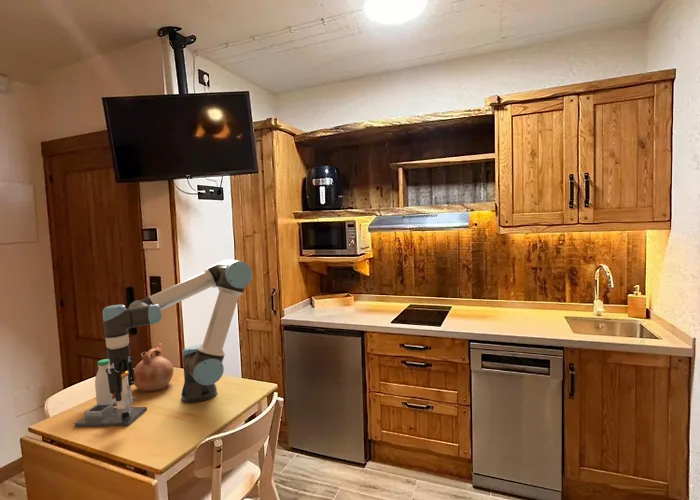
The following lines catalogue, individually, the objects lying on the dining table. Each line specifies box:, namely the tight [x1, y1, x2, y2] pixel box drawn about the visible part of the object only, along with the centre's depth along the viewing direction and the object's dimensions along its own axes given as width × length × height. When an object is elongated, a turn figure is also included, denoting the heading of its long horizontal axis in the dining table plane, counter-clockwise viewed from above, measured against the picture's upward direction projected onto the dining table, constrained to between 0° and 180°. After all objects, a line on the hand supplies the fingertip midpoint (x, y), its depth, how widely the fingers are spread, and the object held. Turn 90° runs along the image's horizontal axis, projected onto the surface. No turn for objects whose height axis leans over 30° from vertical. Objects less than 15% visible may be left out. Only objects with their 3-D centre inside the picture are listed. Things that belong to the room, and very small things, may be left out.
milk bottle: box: [94, 358, 116, 404], centre depth 173 cm, size 8×8×20 cm
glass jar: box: [117, 370, 132, 413], centre depth 149 cm, size 5×5×15 cm
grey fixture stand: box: [73, 396, 148, 428], centre depth 159 cm, size 22×13×14 cm, turn 87°
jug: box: [133, 342, 174, 394], centre depth 189 cm, size 18×18×20 cm
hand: (125, 405), depth 149 cm, fingers closed on glass jar, 4 cm apart
